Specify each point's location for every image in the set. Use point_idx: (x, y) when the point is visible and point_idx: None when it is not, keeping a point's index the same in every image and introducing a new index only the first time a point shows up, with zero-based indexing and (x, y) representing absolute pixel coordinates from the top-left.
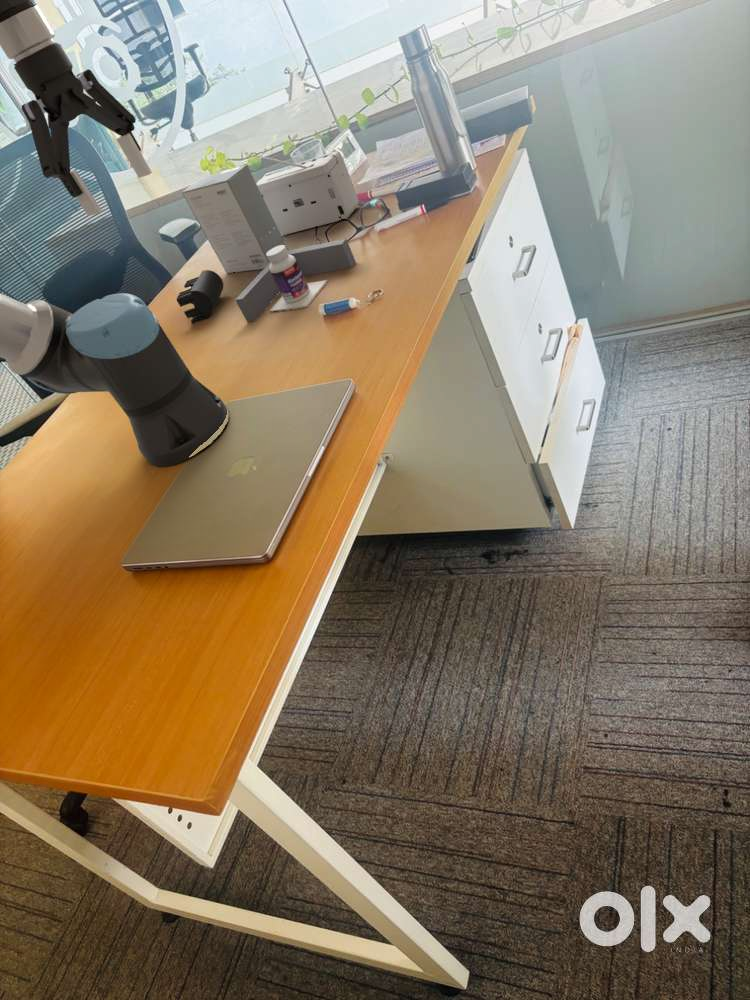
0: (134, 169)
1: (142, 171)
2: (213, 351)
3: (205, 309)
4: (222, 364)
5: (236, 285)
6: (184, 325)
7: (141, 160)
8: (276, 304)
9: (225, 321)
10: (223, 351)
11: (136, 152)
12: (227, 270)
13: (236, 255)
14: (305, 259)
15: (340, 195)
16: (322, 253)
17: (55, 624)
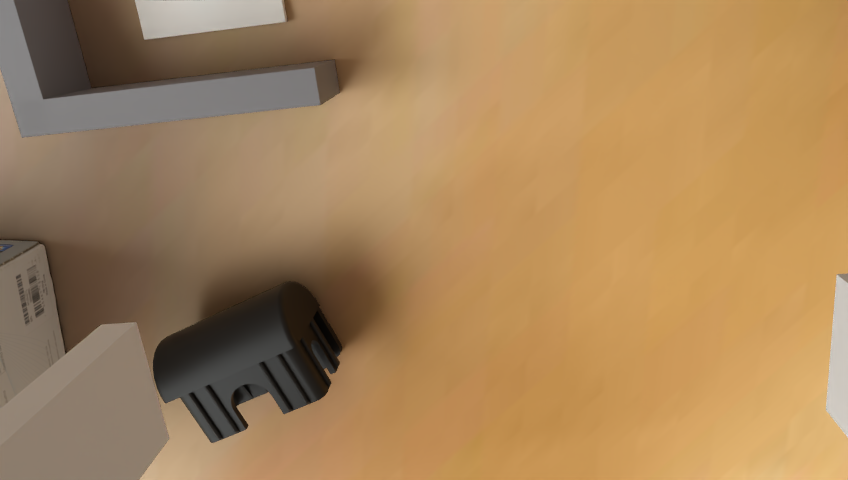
0: (134, 477)
1: (130, 393)
2: (495, 115)
3: (307, 301)
4: (571, 6)
5: (140, 325)
6: (350, 375)
7: (64, 385)
8: (249, 20)
9: (333, 204)
10: (498, 66)
11: (13, 438)
12: None
13: (32, 378)
14: (34, 2)
15: None
16: None
17: None
